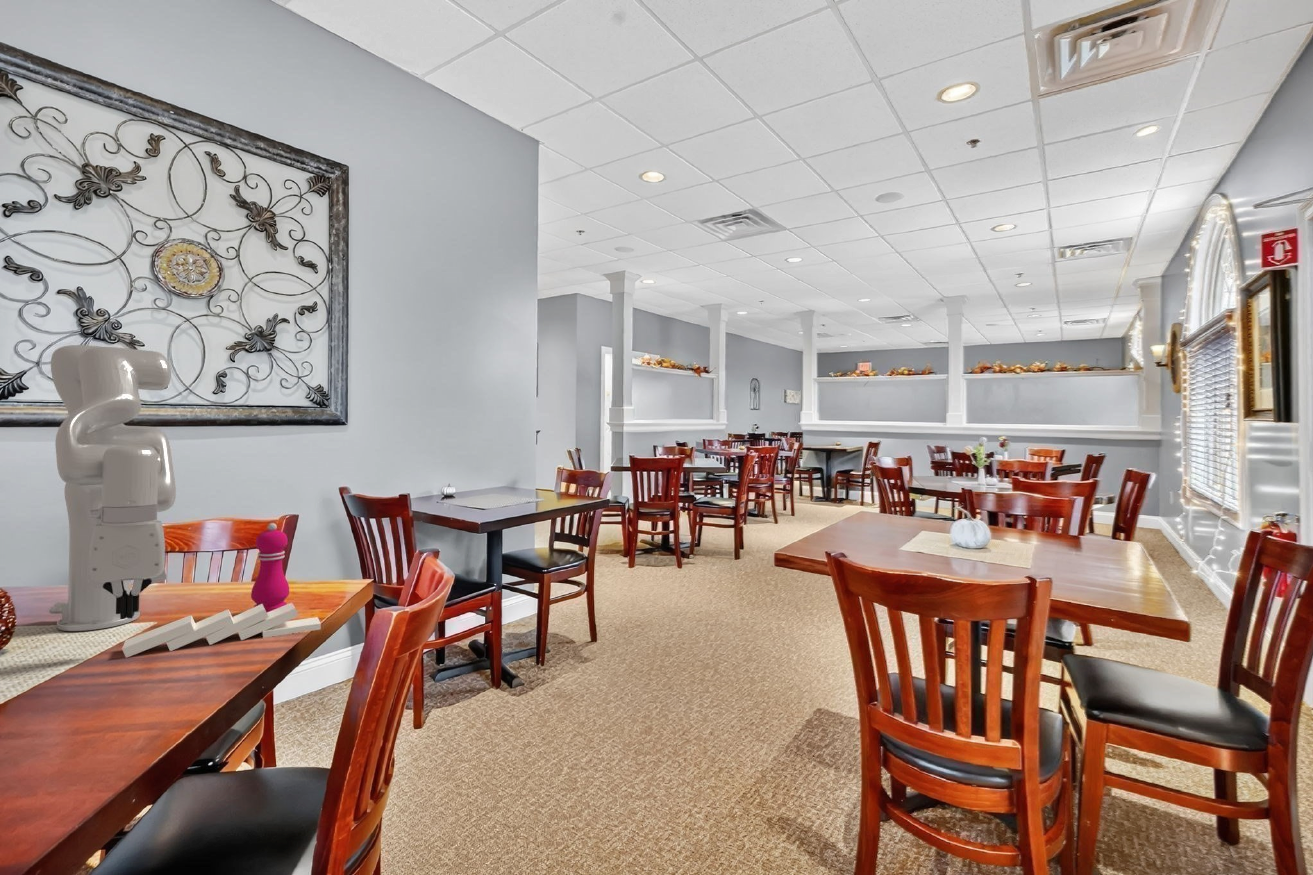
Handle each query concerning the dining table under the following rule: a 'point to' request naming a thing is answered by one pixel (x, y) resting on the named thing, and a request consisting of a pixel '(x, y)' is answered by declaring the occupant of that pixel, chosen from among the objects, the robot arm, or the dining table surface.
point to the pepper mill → (271, 570)
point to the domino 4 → (293, 627)
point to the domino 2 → (239, 623)
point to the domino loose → (158, 636)
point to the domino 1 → (203, 629)
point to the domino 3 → (270, 620)
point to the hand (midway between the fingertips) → (127, 616)
